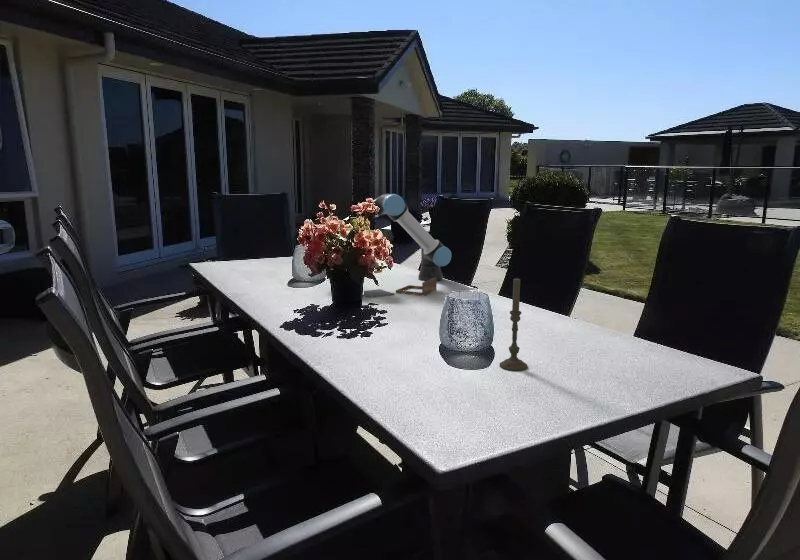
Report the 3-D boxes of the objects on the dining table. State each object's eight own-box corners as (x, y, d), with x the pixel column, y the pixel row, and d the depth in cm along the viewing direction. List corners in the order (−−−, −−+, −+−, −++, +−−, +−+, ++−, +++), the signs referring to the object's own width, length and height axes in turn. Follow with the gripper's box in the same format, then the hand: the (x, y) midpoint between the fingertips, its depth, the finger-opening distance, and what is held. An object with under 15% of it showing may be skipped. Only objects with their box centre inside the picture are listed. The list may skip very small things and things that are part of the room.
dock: (395, 292, 302) (395, 280, 301) (408, 287, 317) (408, 275, 316) (424, 295, 295) (424, 282, 294) (436, 290, 310) (436, 277, 308)
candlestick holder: (528, 363, 186) (531, 275, 181) (527, 372, 178) (531, 280, 172) (500, 361, 189) (503, 274, 183) (498, 369, 180) (501, 278, 175)
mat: (379, 290, 310) (379, 289, 310) (394, 294, 298) (394, 293, 298) (356, 293, 302) (356, 292, 302) (370, 297, 290) (370, 296, 290)
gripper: (357, 262, 315) (392, 264, 306) (335, 267, 295) (371, 270, 286) (357, 249, 314) (392, 251, 304) (335, 253, 294) (371, 256, 284)
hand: (382, 260), depth 295 cm, fingers closed on plant pot, 10 cm apart
